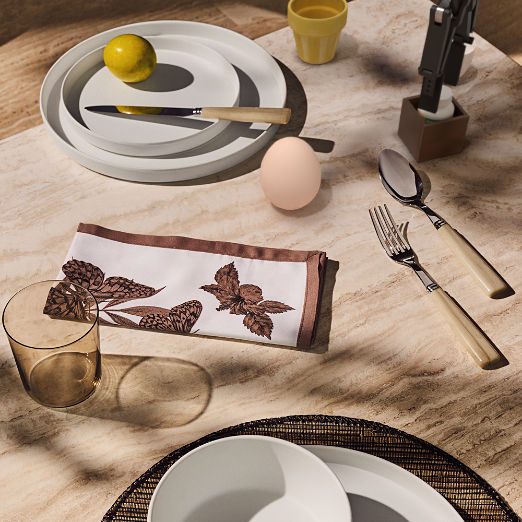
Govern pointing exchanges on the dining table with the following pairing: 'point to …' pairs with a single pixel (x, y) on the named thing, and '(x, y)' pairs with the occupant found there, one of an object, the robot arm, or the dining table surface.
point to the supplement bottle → (440, 107)
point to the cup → (467, 57)
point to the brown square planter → (431, 131)
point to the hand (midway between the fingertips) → (438, 95)
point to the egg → (290, 173)
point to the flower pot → (317, 27)
